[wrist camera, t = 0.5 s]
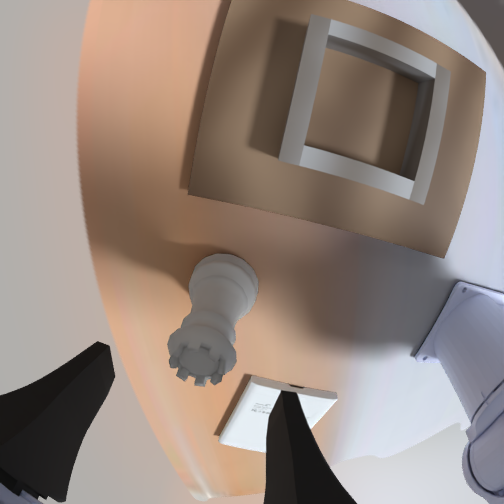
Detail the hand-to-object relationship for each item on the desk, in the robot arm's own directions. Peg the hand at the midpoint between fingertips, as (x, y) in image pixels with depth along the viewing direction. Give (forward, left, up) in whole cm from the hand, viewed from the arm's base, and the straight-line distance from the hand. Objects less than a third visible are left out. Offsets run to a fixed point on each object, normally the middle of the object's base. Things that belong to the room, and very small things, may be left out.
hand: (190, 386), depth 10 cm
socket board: (-6, -12, -9) cm, 16 cm away
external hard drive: (-7, +15, -10) cm, 19 cm away
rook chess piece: (0, 0, -9) cm, 9 cm away
